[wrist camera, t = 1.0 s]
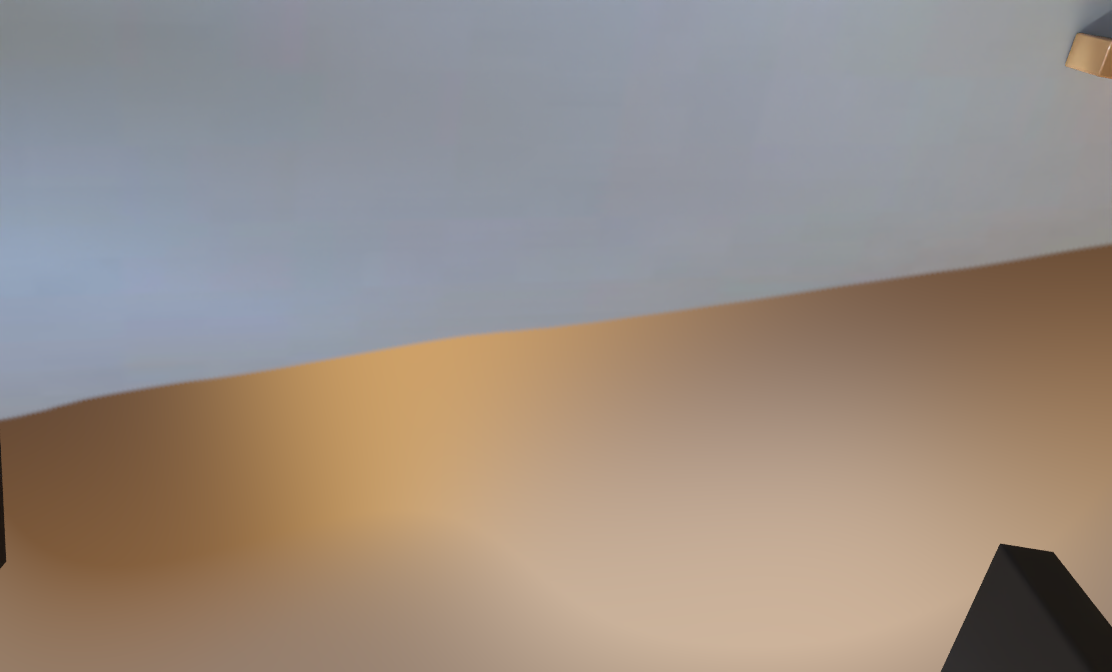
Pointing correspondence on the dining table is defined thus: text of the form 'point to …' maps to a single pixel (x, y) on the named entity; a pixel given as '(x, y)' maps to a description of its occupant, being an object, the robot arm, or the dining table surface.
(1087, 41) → the frame
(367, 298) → the dining table surface
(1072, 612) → the robot arm
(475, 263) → the dining table surface
